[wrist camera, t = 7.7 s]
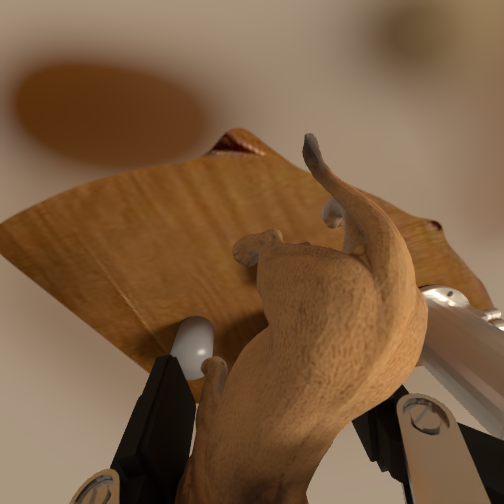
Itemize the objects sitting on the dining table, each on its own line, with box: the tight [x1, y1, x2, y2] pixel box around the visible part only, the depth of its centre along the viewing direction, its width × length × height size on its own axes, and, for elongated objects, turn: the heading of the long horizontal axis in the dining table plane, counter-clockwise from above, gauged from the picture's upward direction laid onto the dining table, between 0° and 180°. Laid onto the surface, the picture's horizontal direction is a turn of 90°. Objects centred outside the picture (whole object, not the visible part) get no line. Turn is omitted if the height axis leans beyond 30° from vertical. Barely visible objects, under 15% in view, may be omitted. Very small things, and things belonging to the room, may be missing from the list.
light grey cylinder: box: [170, 316, 214, 380], centre depth 32 cm, size 5×5×6 cm
